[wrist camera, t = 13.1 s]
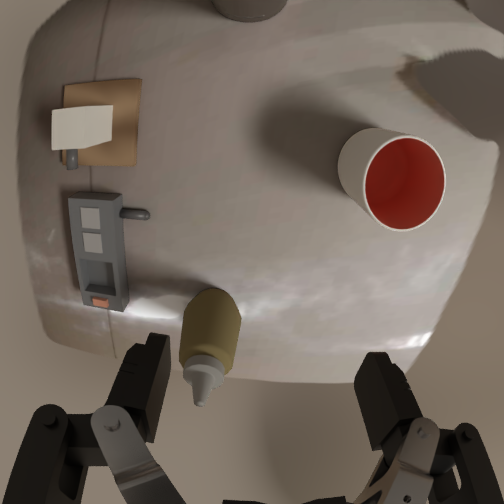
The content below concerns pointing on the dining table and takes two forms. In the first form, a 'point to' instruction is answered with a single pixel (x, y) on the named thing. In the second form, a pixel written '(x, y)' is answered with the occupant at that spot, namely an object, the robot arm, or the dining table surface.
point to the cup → (392, 177)
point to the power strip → (101, 247)
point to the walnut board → (123, 119)
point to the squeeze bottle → (208, 341)
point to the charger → (80, 129)
